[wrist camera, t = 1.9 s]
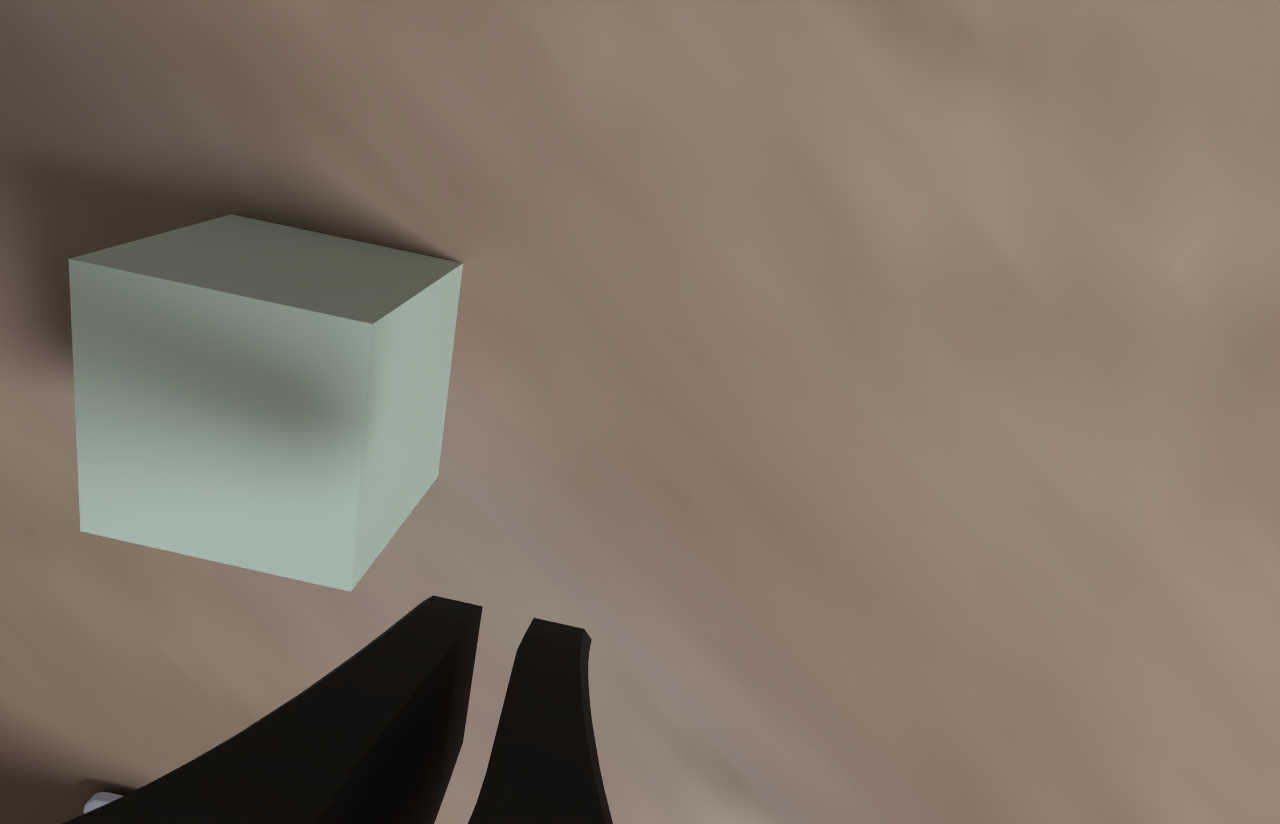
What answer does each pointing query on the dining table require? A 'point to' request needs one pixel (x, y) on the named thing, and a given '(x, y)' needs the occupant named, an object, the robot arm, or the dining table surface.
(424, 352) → the block
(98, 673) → the dining table surface
